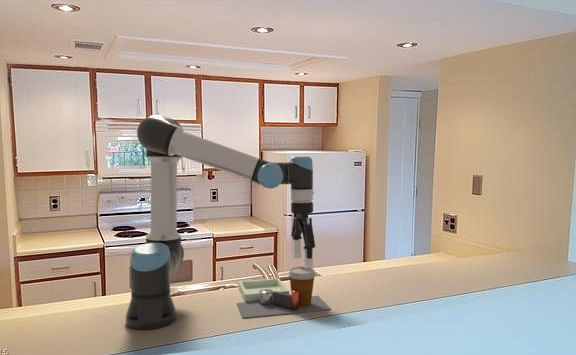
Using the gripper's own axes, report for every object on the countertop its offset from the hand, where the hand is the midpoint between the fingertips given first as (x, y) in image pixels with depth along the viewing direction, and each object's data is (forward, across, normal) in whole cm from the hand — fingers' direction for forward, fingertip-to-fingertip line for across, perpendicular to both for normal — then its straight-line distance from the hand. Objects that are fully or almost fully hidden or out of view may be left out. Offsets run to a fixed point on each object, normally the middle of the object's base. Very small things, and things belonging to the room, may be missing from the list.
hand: (302, 262), depth 145 cm
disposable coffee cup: (+15, 0, 0) cm, 15 cm away
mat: (+15, 0, +7) cm, 17 cm away
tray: (+15, +15, +11) cm, 24 cm away
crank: (+14, -2, +7) cm, 16 cm away
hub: (+15, +4, +5) cm, 16 cm away
